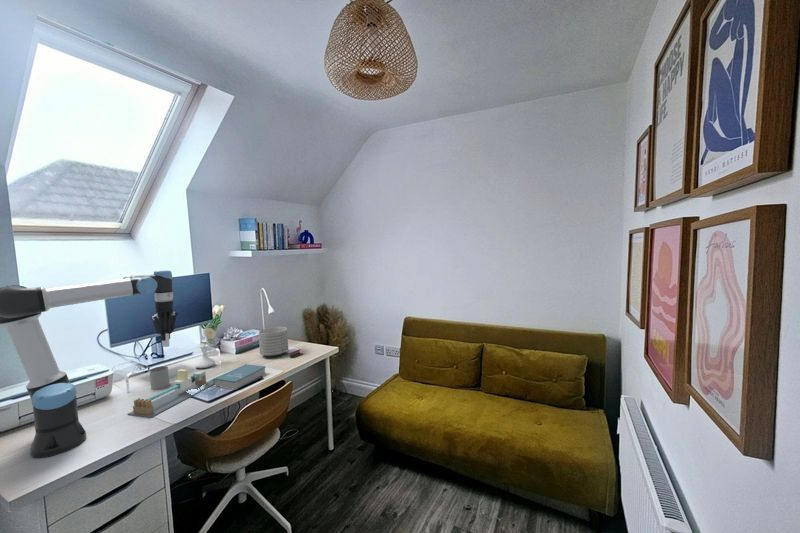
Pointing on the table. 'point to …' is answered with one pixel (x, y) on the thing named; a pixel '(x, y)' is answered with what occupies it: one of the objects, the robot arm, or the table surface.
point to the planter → (273, 341)
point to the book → (240, 376)
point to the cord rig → (167, 398)
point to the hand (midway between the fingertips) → (166, 346)
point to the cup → (159, 377)
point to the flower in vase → (205, 360)
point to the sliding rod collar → (183, 380)
